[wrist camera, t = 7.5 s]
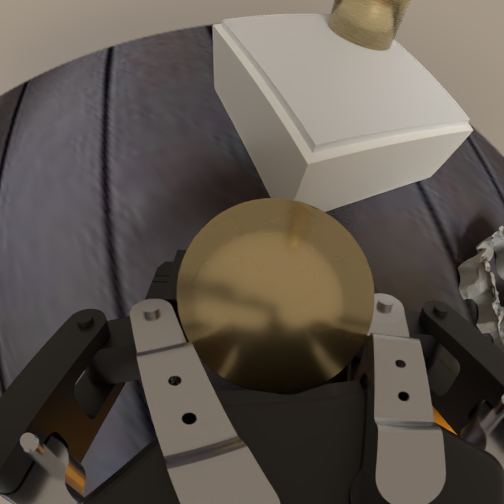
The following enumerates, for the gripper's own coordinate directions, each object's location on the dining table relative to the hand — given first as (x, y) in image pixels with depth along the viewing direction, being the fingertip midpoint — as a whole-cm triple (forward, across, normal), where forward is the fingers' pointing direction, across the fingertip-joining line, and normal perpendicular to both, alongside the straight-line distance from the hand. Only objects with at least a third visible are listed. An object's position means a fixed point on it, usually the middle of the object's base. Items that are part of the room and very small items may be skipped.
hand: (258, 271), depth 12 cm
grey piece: (+3, -20, +5) cm, 21 cm away
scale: (+13, -6, -6) cm, 16 cm away
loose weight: (+2, 0, +4) cm, 5 cm away
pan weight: (+11, -8, -14) cm, 19 cm away
